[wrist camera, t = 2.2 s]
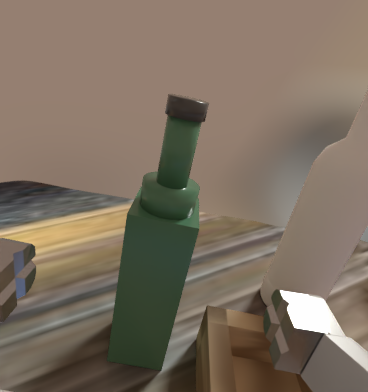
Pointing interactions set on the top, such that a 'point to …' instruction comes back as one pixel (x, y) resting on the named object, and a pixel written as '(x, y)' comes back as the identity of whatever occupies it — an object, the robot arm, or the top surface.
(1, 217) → the top surface
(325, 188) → the bottle
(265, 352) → the oak rest
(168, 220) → the green bottle
